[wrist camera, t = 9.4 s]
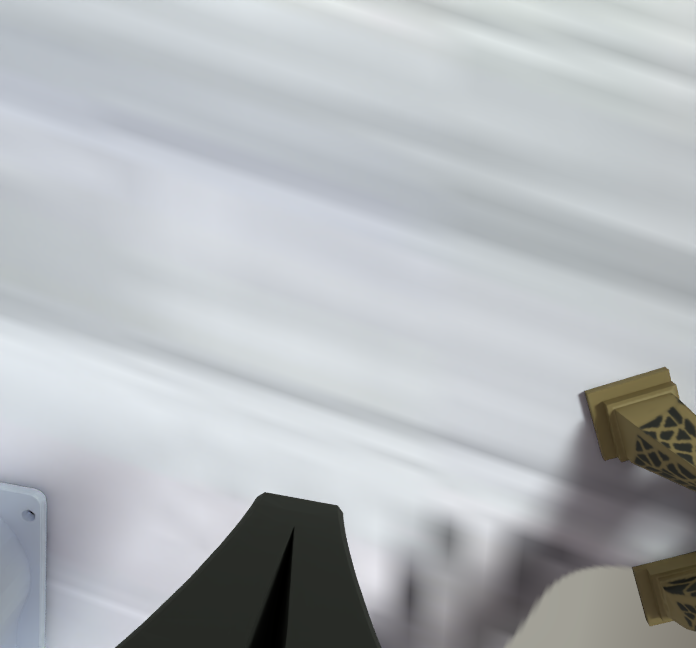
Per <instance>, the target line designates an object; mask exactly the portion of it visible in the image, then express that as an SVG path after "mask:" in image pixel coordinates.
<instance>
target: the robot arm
mask: <svg viewBox="0 0 696 648" xmlns="http://www.w3.org/2000/svg"><path fill="white" fill-rule="evenodd" d="M29 510H30V511H32V512H33V513H34V514H35V515H33V514H31V513H30V512H29ZM46 520H47V501H46V497H45V495H44V494H43V493H42V492H41V491H39V490H37V489H34V488H29V487H24V486H18V485H13V484H7V483H2V482H0V648H45V621H46ZM115 648H381V646H380V643H379V641H378V638H377V636H376V633H375V630H374V628H373V625H372V622H371V619H370V617H369V614H368V611H367V608H366V605H365V602H364V599H363V596H362V593H361V590H360V587H359V584H358V580H357V577H356V574H355V570H354V567H353V563H352V559H351V555H350V551H349V547H348V543H347V538H346V533H345V527H344V520H343V512H342V511H341V509H340V508H339V507H338V506H337V505H332V504H326V503H321V502H315V501H310V500H304V499H299V498H293V497H288V496H282V495H277V494H272V493H266V492H265V493H263V494H261V495H260V496H258V497H257V498H256V499H255V501H254V503H253V504H252V506H251V507H250V508H249V510H248V511H247V513H246V514H245V515H244V517H243V518H242V519H241V520H240V522H239V523H238V524H237V525H236V527H235V528H234V529H233V530H232V531H231V533H230V534H229V535H228V536H227V537H226V539H225V540H224V541H223V542H222V543H221V545H220V546H219V547H218V548H217V549H216V550H215V551H214V552H213V553H212V554H211V555H210V557H209V558H208V559H207V560H206V561H205V562H204V563H203V564H202V565H201V566H200V567H199V569H198V570H197V571H196V572H195V573H194V574H193V575H192V576H191V577H190V578H189V579H188V580H187V581H186V582H185V583H184V584H183V585H182V586H181V587H180V588H179V589H178V590H177V591H176V592H175V593H174V594H173V595H172V596H171V597H170V598H169V599H168V600H167V601H166V602H165V603H163V604H162V605H161V606H160V607H159V608H158V609H157V610H156V611H155V612H154V613H153V614H152V615H151V616H150V617H149V618H148V619H147V620H146V621H145V622H144V623H143V624H141V625H140V626H139V627H138V628H137V629H136V630H135V631H134V632H132V633H131V634H130V635H129V636H128V637H127V638H126V639H125V640H123V641H122V642H121V643H120V644H119V645H118V646H116V647H115Z"/></svg>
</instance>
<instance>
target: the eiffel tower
mask: <svg viewBox="0 0 696 648" xmlns="http://www.w3.org/2000/svg"><path fill="white" fill-rule="evenodd" d="M585 395H586V399H587V402H588V406H589V410H590V413H591V417H592V421H593V424H594V428H595V432H596V435H597V439H598V443H599V446H600V450H601V454H602V457H603V459H604V460H605V461H606V460H609V459H613V458H616V457H618V459H619V460H620V461H621V462H624V461H627V460H630V461H631V463H633V464H635V465H638V466H640V467H642V468H644V469H646V470H649V471H651V472H653V473H655V474H658V475H660V476H662V477H664V478H666V479H669V480H671V481H673V482H675V483H678V484H680V485H682V486H684V487H686V488H689V489H691V490H693V491H695V492H696V415H695V414H694V413H693V412H692V411H691V410H690V409H689V408H688V407H687V406H686V405H684V404H683V403H682V402H681V401H680V400H679V395H678V390H677V386H676V384H674V383H673V382H672V381H671V378H670V373H669V369H667V368H666V367H663V368H660V369H656V370H653V371H650V372H646V373H643V374H640V375H636V376H633V377H630V378H626V379H623V380H620V381H616V382H613V383H610V384H606V385H603V386H600V387H596V388H593V389H590V390H586V391H585ZM632 570H633V574H634V577H635V581H636V585H637V588H638V592H639V596H640V600H641V603H642V606H643V610H644V614H645V618H646V621H647V622H648V624H649V626H653V625H658V624H662V623H666V622H670V621H675V622H677V623H678V624H680V625H681V626H683V627H684V628H686V629H689V630H692V631H696V552H692V553H688V554H684V555H680V556H676V557H672V558H668V559H664V560H660V561H656V562H652V563H648V564H644V565H640V566H636V567H632Z"/></svg>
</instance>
